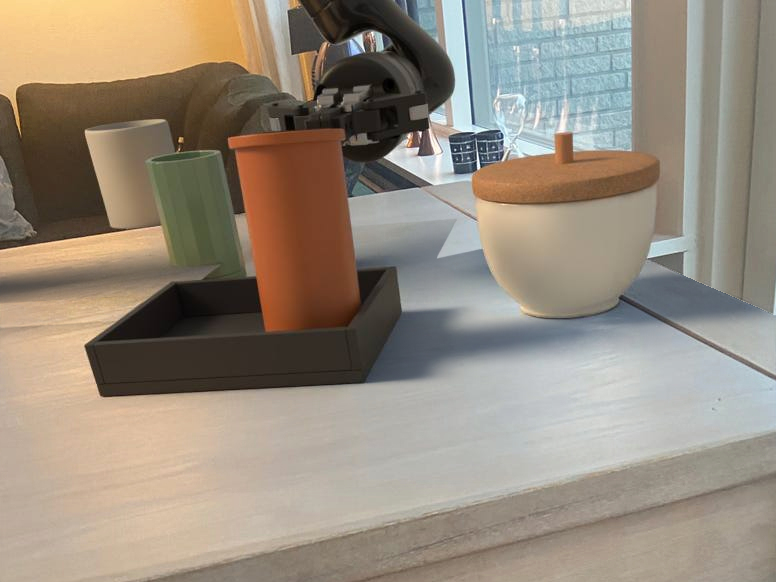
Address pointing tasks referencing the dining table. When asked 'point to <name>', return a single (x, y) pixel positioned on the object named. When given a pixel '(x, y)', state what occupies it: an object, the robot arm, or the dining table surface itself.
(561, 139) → the lidded bowl
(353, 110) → the robot arm
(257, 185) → the pot
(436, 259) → the dining table surface
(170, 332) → the dark shallow tray
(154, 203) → the mug
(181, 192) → the cup
